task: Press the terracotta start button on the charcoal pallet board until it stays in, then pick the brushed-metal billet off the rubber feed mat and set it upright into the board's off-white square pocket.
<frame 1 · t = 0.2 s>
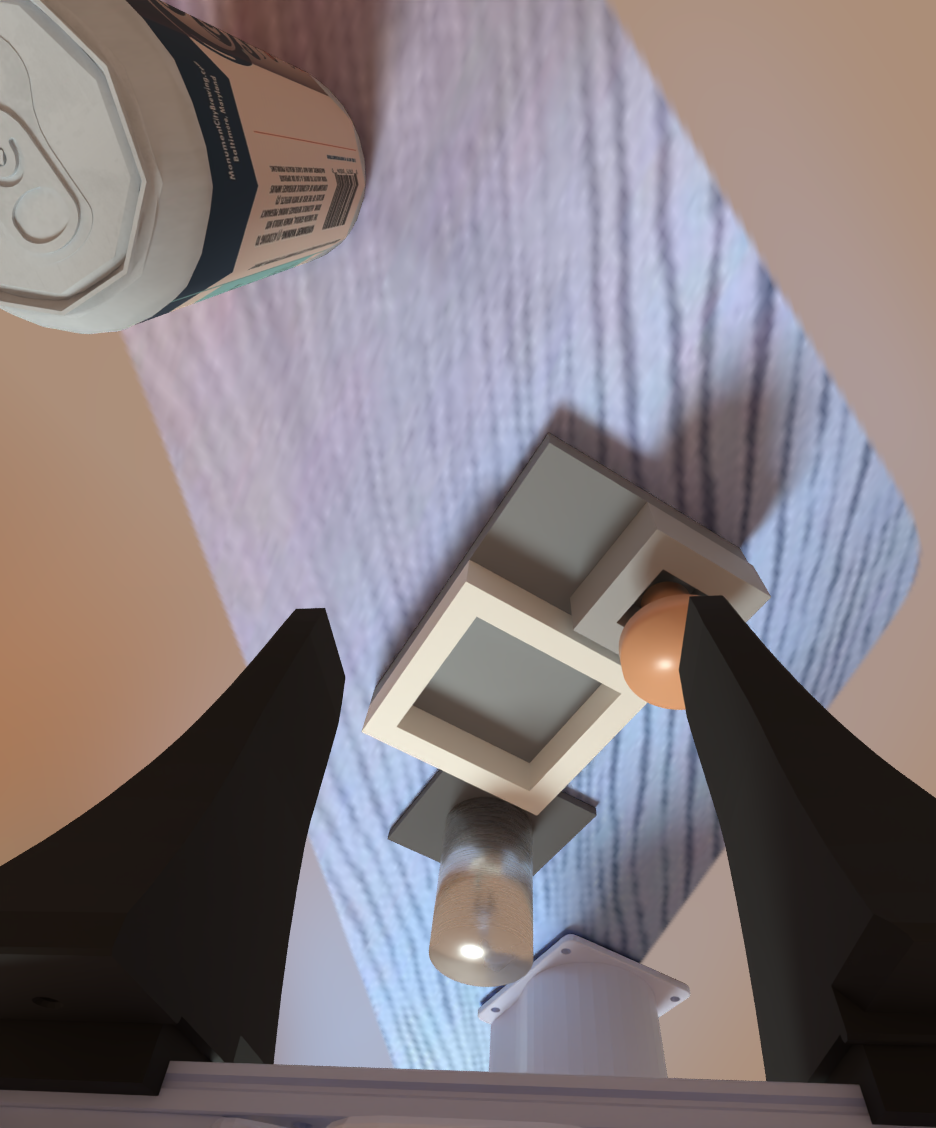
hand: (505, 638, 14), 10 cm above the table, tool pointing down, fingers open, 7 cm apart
start button: (674, 630, 21), point 4 cm above the table, slide at 0.0 cm
billet: (488, 827, 31), resting on feed mat
feed mat: (489, 820, 32), on the table
station: (541, 625, 26), on the table
beer can: (287, 170, 19), on the table
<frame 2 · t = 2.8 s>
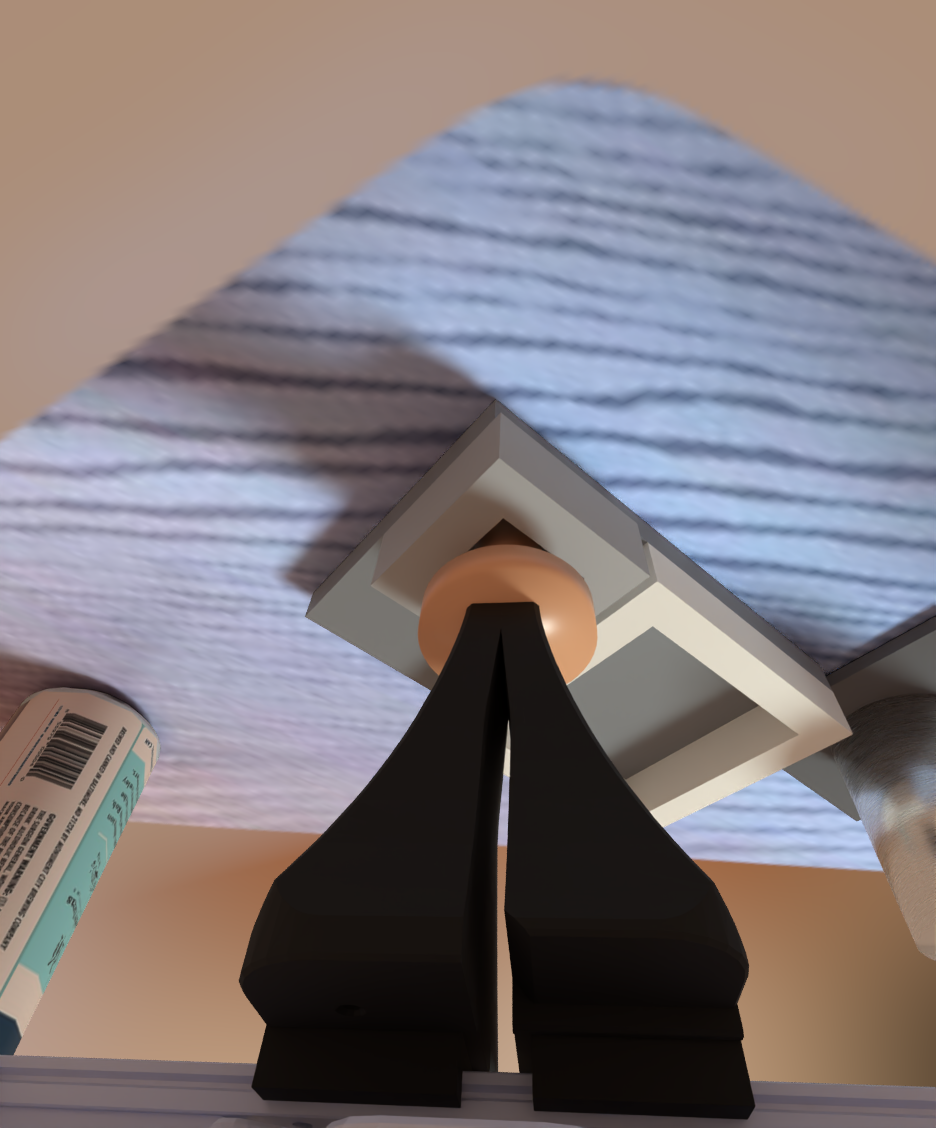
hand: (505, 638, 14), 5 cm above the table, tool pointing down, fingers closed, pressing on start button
start button: (507, 588, 15), point 3 cm above the table, slide at 0.6 cm, touching gripper
billet: (897, 735, 22), resting on feed mat
feed mat: (892, 725, 22), on the table
station: (571, 630, 20), on the table
beer can: (100, 717, 24), on the table
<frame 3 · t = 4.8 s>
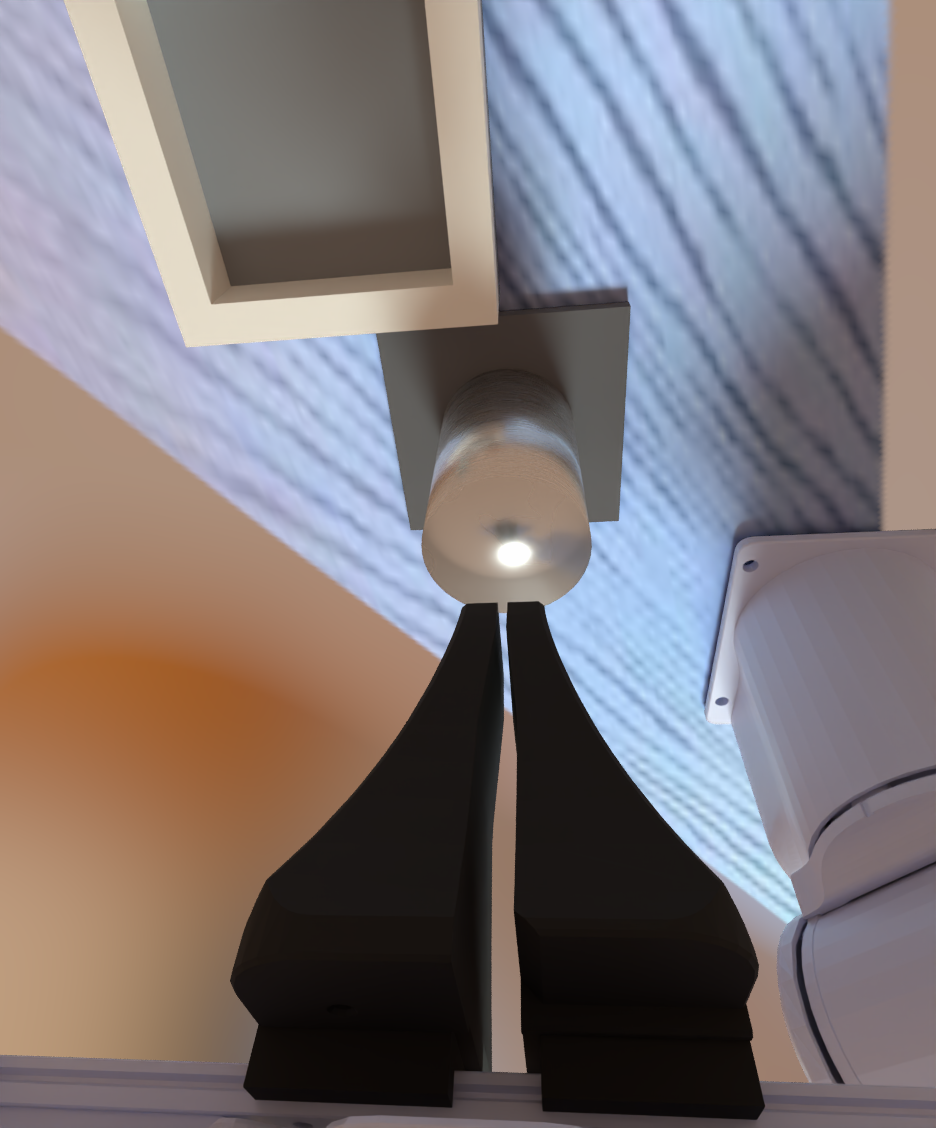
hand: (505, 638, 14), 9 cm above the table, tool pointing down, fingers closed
billet: (507, 431, 21), resting on feed mat
feed mat: (507, 425, 21), on the table
station: (300, 3, 15), on the table
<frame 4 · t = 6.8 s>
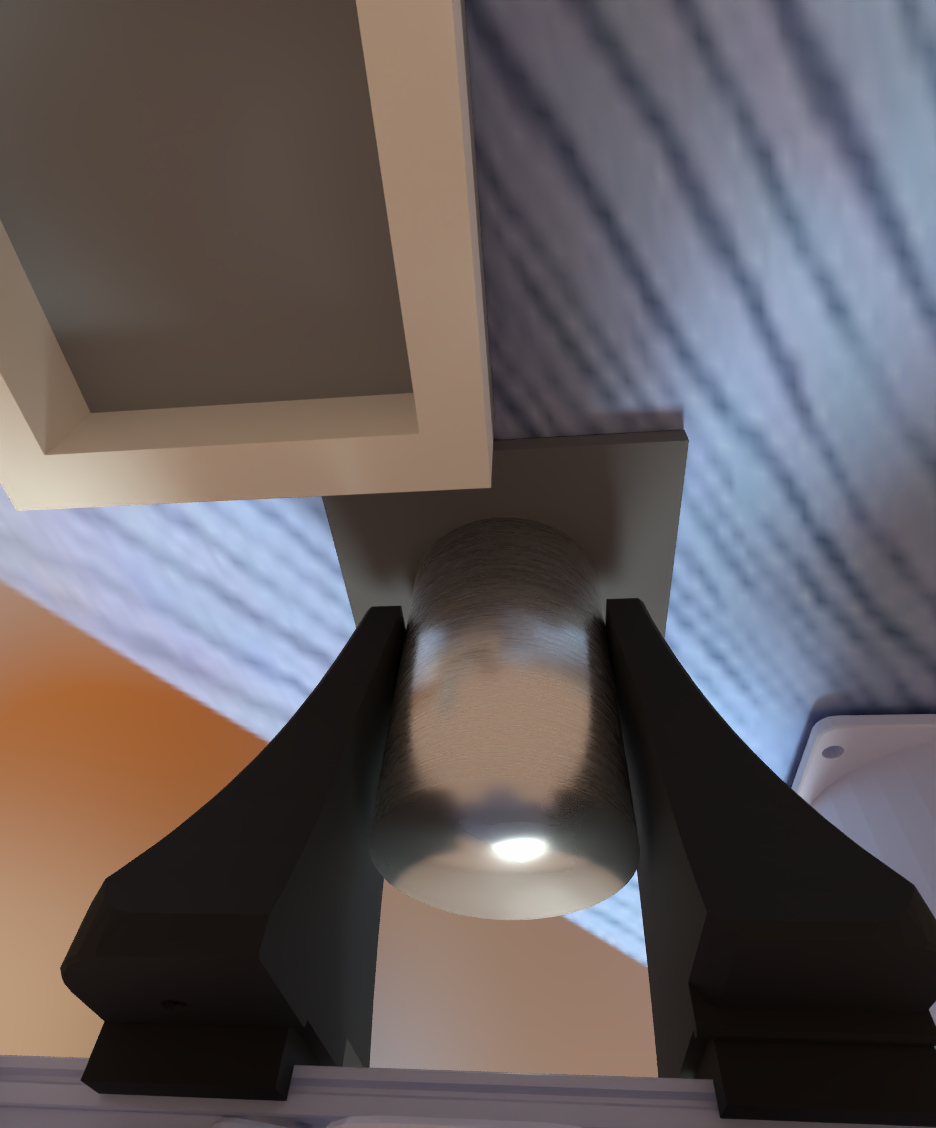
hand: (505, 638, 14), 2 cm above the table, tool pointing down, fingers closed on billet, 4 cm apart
billet: (505, 593, 15), resting on feed mat, touching gripper
feed mat: (506, 581, 15), on the table
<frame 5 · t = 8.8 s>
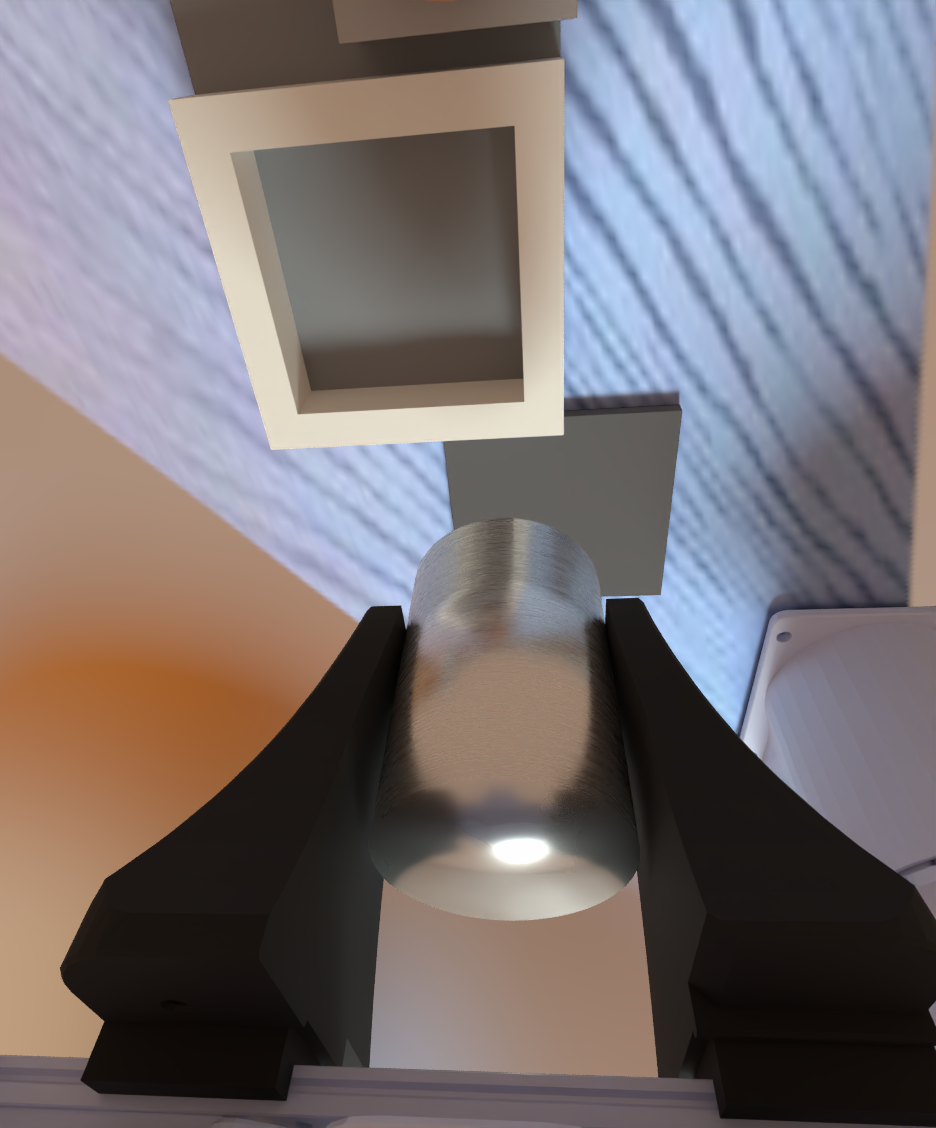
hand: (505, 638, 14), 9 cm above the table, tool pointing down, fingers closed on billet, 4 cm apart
billet: (506, 593, 15), point 8 cm above the table, touching gripper
feed mat: (559, 509, 22), on the table
station: (390, 150, 16), on the table
when the fingers open (3 cm above the table, at t = 11.0 s): billet drops 1 cm, resting on station.
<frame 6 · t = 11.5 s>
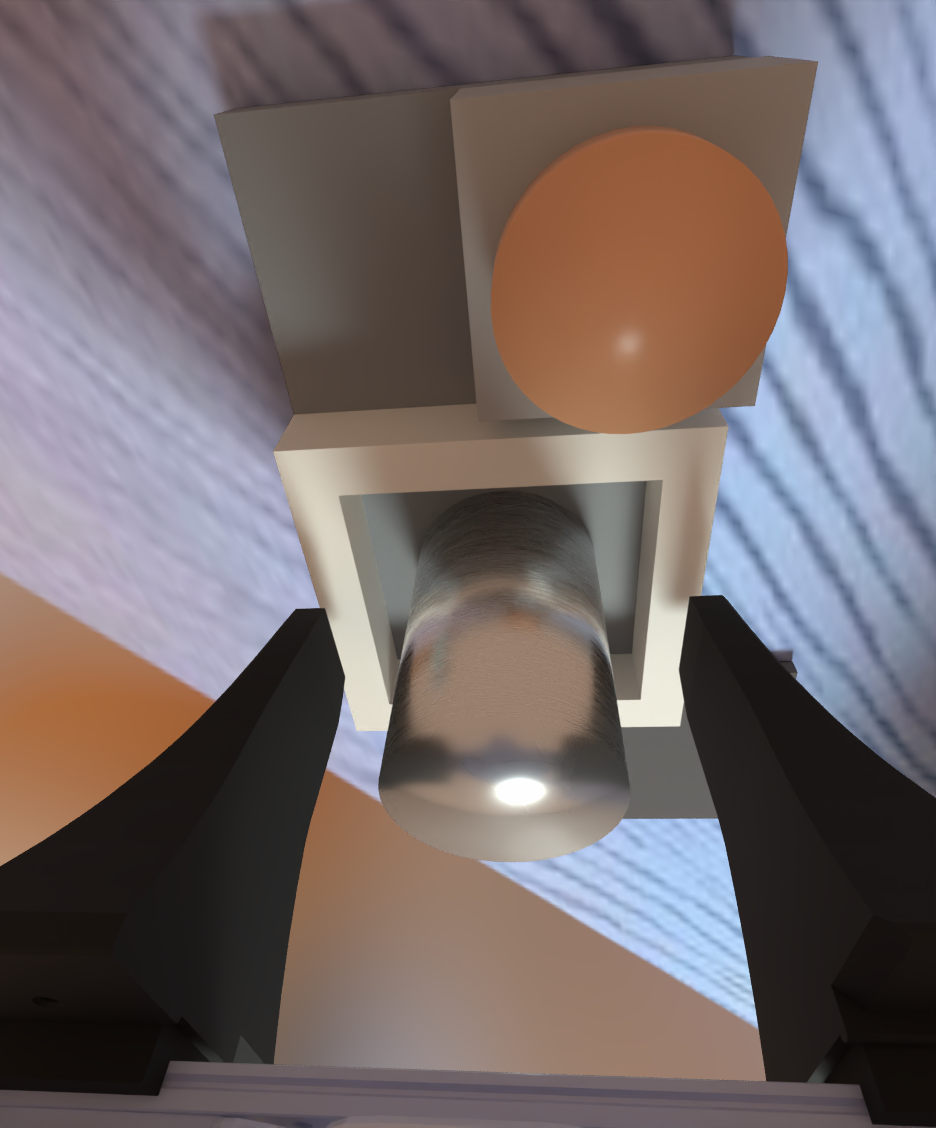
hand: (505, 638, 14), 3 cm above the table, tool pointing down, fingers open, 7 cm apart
start button: (619, 268, 10), point 3 cm above the table, slide at 1.0 cm
billet: (506, 565, 16), point 1 cm above the table, touching station
feed mat: (650, 743, 21), on the table
station: (500, 446, 15), on the table
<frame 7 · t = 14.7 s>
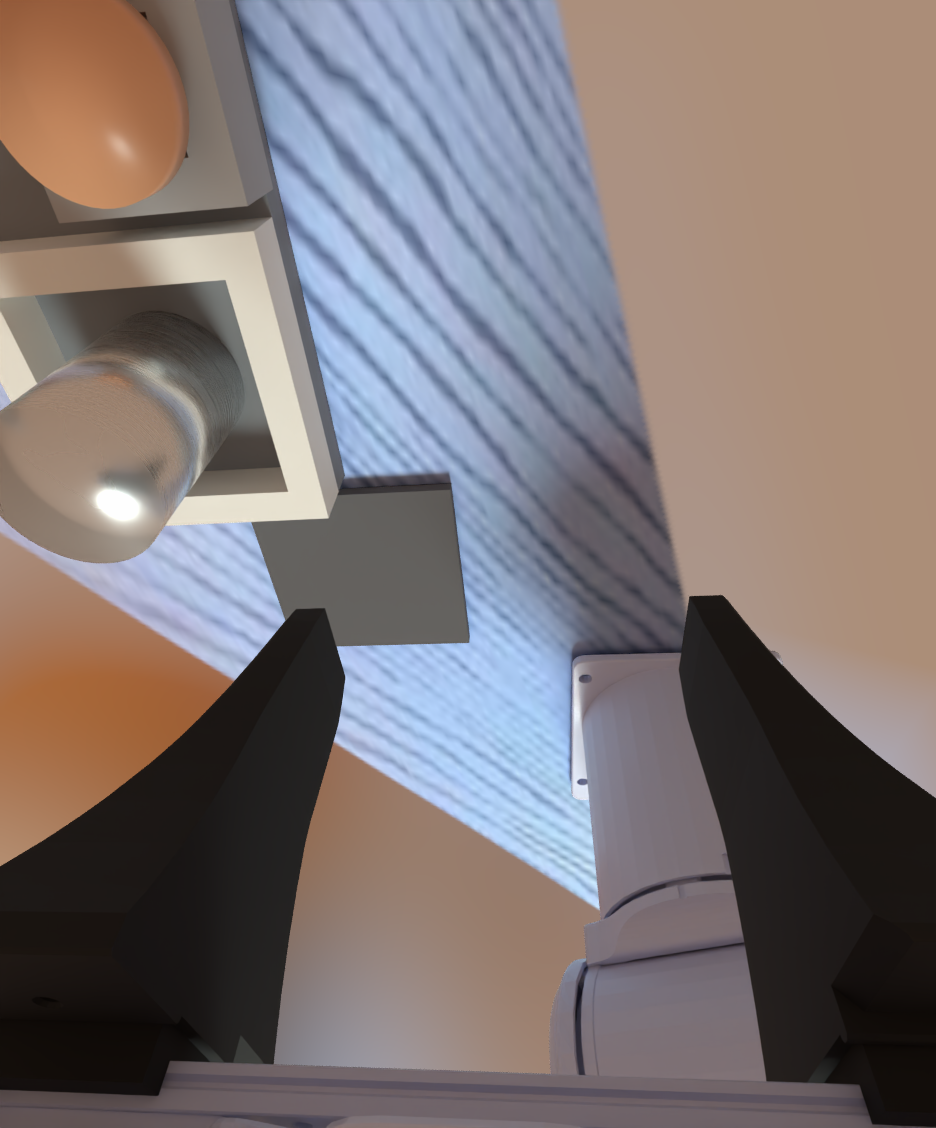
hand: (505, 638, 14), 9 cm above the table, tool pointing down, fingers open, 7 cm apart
start button: (114, 94, 14), point 3 cm above the table, slide at 1.0 cm
billet: (175, 381, 20), point 1 cm above the table, touching station
feed mat: (366, 569, 25), on the table
station: (157, 280, 19), on the table
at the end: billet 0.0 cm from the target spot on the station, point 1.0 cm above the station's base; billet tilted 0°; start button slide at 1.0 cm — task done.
